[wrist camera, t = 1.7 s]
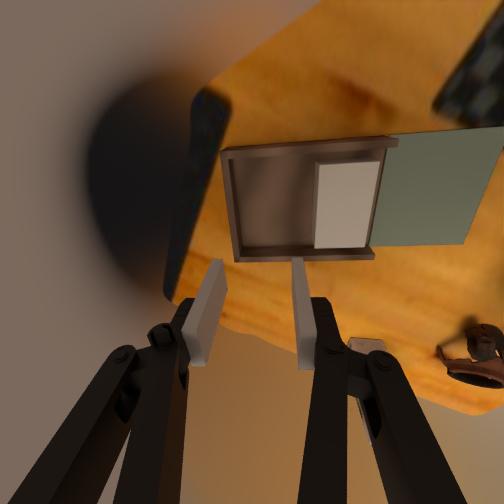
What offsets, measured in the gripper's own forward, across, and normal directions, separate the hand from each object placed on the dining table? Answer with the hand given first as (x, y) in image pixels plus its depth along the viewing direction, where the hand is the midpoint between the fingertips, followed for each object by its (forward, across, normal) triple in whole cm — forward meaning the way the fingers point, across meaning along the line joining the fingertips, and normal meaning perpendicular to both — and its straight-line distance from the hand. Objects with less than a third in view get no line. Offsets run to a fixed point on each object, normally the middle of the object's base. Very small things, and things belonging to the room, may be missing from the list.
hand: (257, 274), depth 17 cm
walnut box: (+17, -4, 0) cm, 17 cm away
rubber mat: (+17, -20, 0) cm, 26 cm away
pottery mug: (+17, -33, +26) cm, 45 cm away
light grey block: (+16, -9, 0) cm, 18 cm away
